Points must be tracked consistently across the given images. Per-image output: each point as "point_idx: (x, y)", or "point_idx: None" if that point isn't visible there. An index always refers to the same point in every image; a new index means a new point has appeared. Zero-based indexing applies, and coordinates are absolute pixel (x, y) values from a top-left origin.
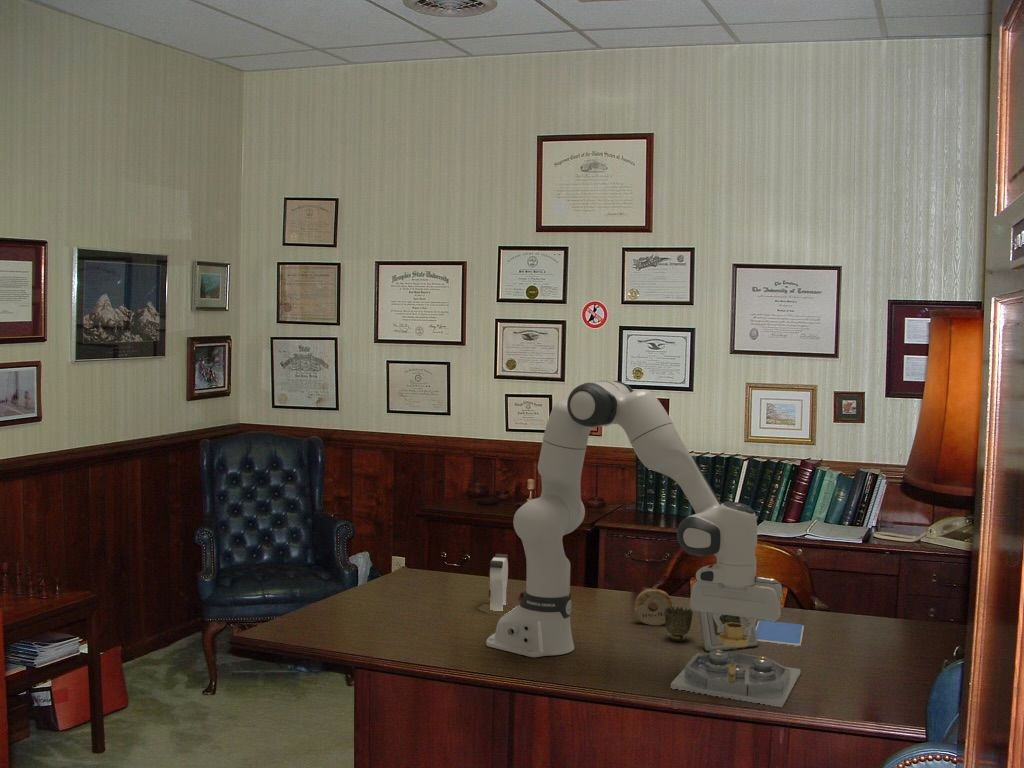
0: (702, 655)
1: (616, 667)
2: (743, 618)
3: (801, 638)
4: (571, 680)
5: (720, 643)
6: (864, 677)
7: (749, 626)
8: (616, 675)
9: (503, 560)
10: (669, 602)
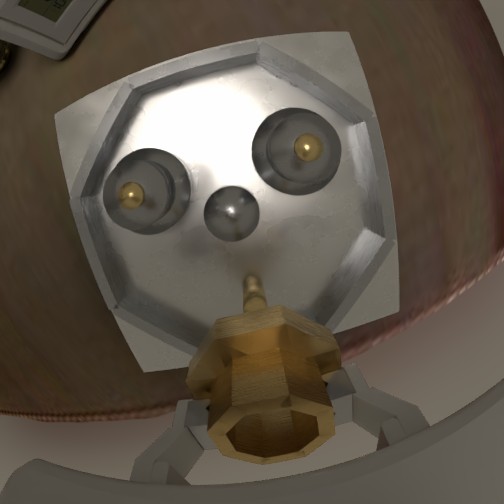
0: (84, 183)
1: (17, 314)
2: None
3: None
4: (44, 399)
5: (78, 20)
6: (436, 11)
7: (373, 430)
8: (46, 352)
9: None
10: None
